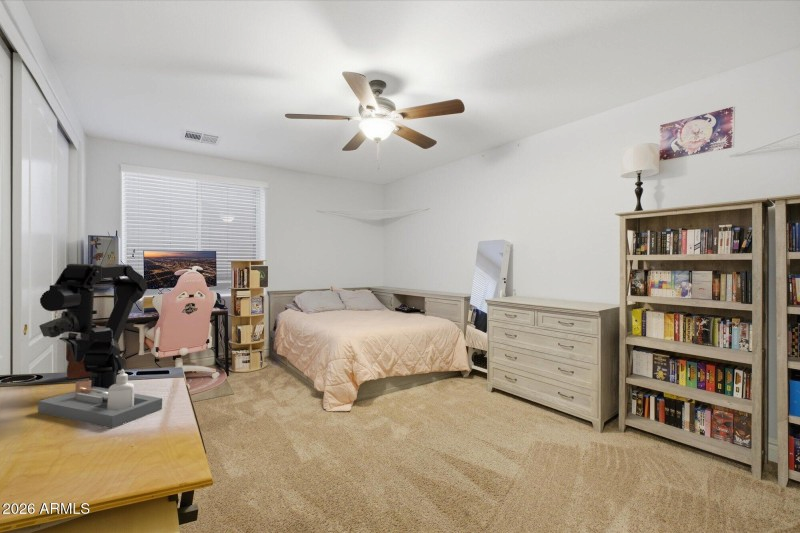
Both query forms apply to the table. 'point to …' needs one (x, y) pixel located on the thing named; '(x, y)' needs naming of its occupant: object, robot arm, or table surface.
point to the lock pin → (89, 389)
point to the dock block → (97, 408)
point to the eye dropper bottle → (120, 393)
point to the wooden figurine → (75, 366)
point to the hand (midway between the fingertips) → (77, 361)
